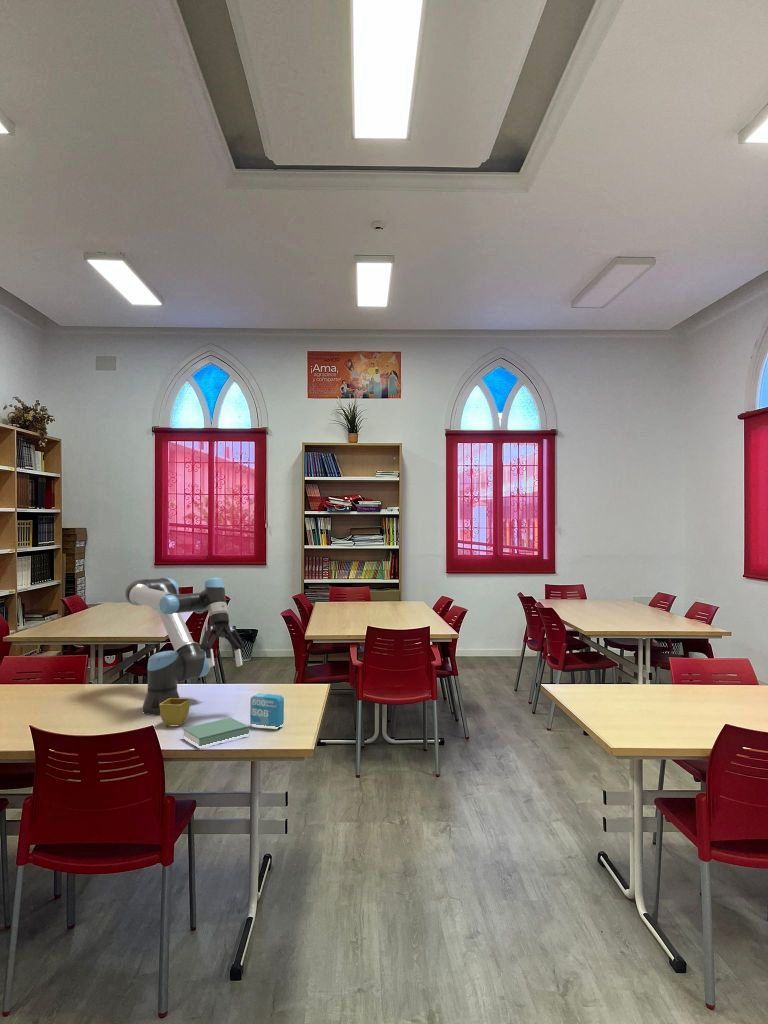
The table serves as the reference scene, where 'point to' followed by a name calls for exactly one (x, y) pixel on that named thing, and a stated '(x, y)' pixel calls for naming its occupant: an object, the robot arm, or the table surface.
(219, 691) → the table surface
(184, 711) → the flower pot
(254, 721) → the data package
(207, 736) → the green book
